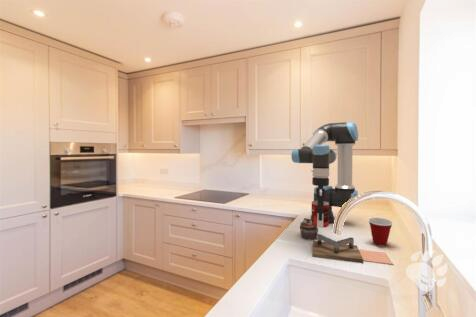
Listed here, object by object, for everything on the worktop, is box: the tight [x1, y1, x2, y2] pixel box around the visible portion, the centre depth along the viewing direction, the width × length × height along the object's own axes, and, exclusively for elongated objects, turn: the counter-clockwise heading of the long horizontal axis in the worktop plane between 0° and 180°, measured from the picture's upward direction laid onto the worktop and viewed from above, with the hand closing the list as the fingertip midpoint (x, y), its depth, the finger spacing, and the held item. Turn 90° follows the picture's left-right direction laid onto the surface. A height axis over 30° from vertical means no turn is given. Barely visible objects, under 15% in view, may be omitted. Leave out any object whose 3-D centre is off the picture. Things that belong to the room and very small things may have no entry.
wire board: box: [312, 233, 364, 264], centre depth 111 cm, size 16×20×6 cm
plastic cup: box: [367, 217, 394, 247], centre depth 121 cm, size 11×11×12 cm
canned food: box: [311, 200, 330, 228], centre depth 116 cm, size 8×8×11 cm
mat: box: [359, 249, 394, 266], centre depth 106 cm, size 12×11×1 cm
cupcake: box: [299, 217, 319, 241], centre depth 131 cm, size 10×10×10 cm
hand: (319, 224), depth 116 cm, fingers closed on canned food, 8 cm apart
